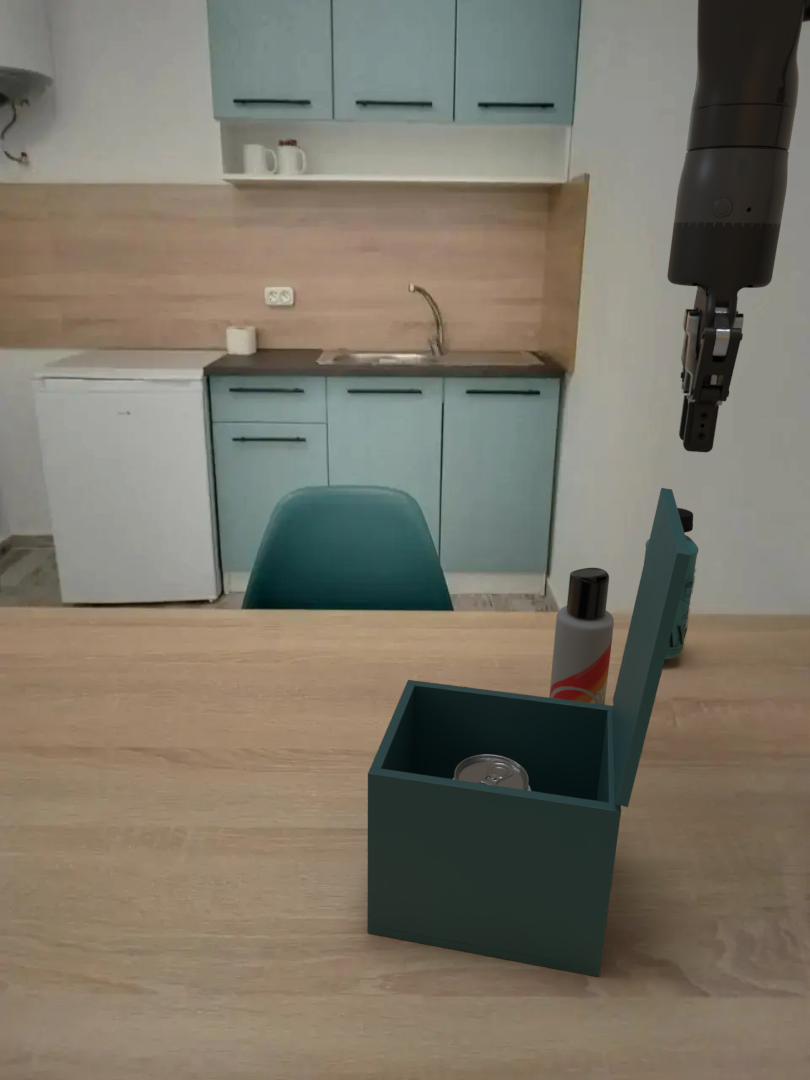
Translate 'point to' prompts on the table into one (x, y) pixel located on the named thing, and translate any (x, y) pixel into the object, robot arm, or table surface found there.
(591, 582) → the lotion bottle
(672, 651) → the beverage bottle
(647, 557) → the lid
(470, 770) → the can
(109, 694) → the table surface
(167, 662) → the table surface
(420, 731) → the dark teal storage box
